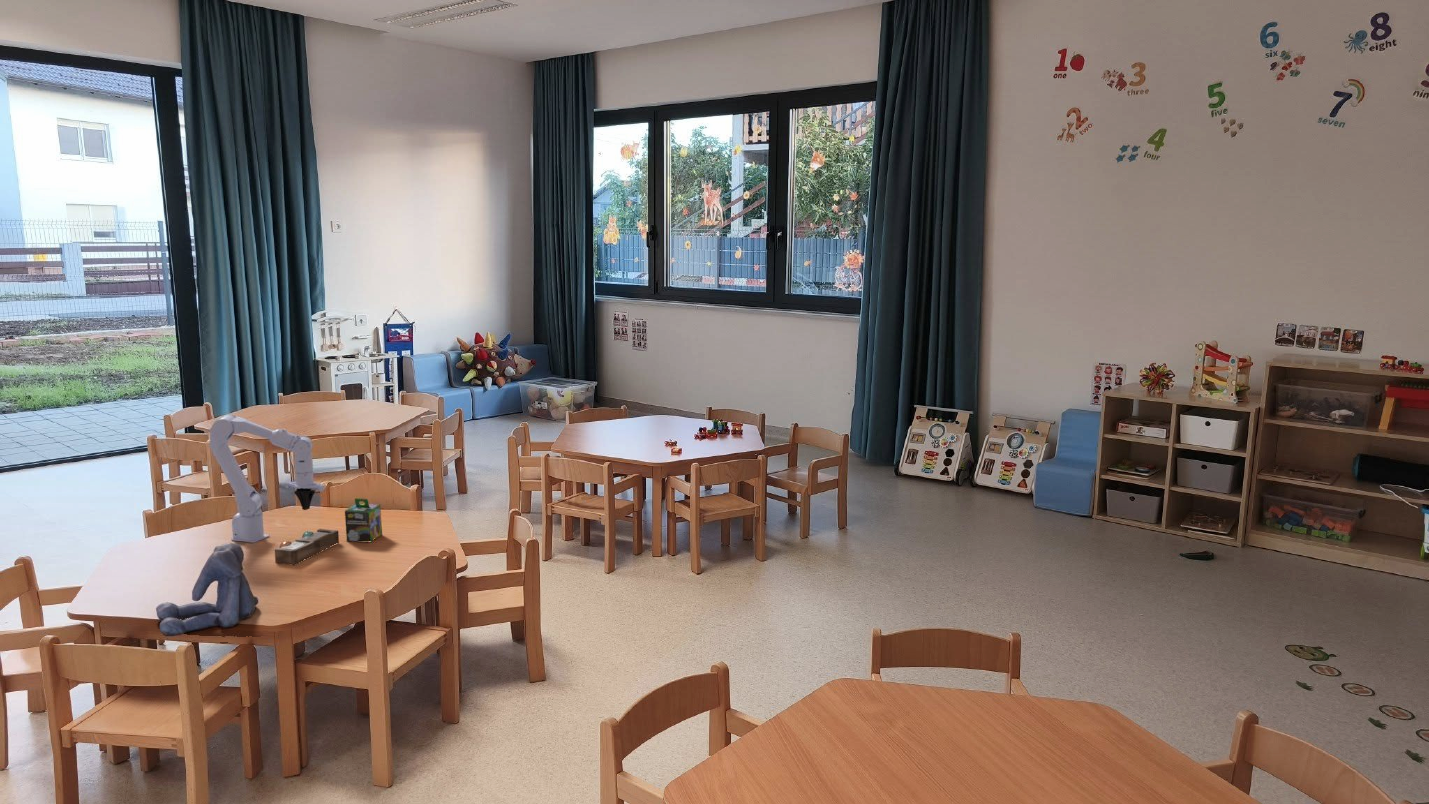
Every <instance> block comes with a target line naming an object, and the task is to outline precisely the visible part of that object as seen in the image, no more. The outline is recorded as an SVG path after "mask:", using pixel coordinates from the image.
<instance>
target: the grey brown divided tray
mask: <svg viewBox="0 0 1429 804" xmlns="http://www.w3.org/2000/svg"><path fill="white" fill-rule="evenodd" d="M316 532H324V533H329V534H326V535H324V536H322V537H320V538H318V539H311V538H302V536H301V537H299V538H296V539H295V541H294V542H303V543H307V544H305V545H303V546H300V547H298V548H296V549H285V548H279V547H277V548H275V549H274V560H275V563H276V564H281V565H283V564H284V565H290V564H292V566H296V565H298V564H300V563H301V561H302V562H304V561H305V560H304V559H306V560H308V559H310V558H312V557H314V556H316V555H318V554H320V553H322V552H321V551H322V550H325V549H326V548H329V547H330V546H332V545H334V544H336V543H340V540H339V539H340V538H339V535H340V534H339V530H335V529H326V528H319V529H317V530H316ZM329 549H330V548H329ZM325 551H326V550H325ZM319 552H320V553H319ZM317 553H318V554H317ZM313 555H314V556H313ZM311 556H312V557H311ZM309 557H310V558H309ZM307 558H308V559H307ZM303 560H304V561H303ZM299 562H300V563H299ZM295 564H296V565H295Z"/></svg>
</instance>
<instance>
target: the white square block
mask: <svg viewBox="0 0 1429 804" xmlns="http://www.w3.org/2000/svg"><path fill="white" fill-rule="evenodd" d="M305 544H307V543H303V542H295V541H294V542H291V541H286V540H285V541H284V540H283V541H282V542H281V543H280V545H279V546H278V548H285V549H296V548H298V547H300V546H303V545H305Z"/></svg>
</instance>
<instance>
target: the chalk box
mask: <svg viewBox="0 0 1429 804" xmlns="http://www.w3.org/2000/svg"><path fill="white" fill-rule="evenodd" d="M360 502H362V503H360ZM354 503H355V504H353V505H351V506H350V507H349V508H347V509H345V510H344V519H345V532H346V533H345V535H346V537H345V538H346V541H347V540H348V541H347V542H354V541H372V540H373V539H374V538H376V539H378V538H379V537H380V535H381V534H382V535H383V526H382V511H381V510H382V509H381V504H380V503H369V500H368V499H367V498H357V497H356V498H354ZM382 535H381V536H382ZM378 536H379V537H378ZM377 537H378V538H377ZM373 541H374V540H373ZM373 541H372V542H373Z"/></svg>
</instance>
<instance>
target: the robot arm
mask: <svg viewBox="0 0 1429 804" xmlns="http://www.w3.org/2000/svg"><path fill="white" fill-rule="evenodd" d="M243 433H247V434H250V435H252V436H253V435H254V436H255V437H256V436H257V437H260V438H263V439H267V440H269V442H270V444H272V445H273V446H276V447H278V448H281V449H284V450H288V451H290V452H292V453H293V454H294V474H295V477H294V478H295V481H286V482H285V483H284V485H285V487H284V488H285V489H296V490H294V494H295V495H296V497H297V499H298V500H299V503H300V506H301V509H302V510H303V511H307V510H309V509H310V508H311V503H312V500H313V497H314V495H315V493H316V491H318V492H323V491H326V490H325V489H326V487H325V486H326V485H325V484H321V483H317V482H314V464H313V461H314V460H313V452H312V449H313V447H314V442H313V440H312V439H311V438H310V437H308V436H307V435H302V436H301V434H294V433H292V432H289V431H287V429H286V428H281V429H280V428H278V429H274V430H273V429H270V428H267V427H265V426H263V425H260V424H257V423H255V422H254V421H252V420H251V421H250V420H248V419H245V418H244V417H242V416H236V415H234V414H225V415H223V416H222V417H220V418H219V419H216V420H215V421H214V422H213V424H212V426H211V427H210V428H209V434H210V435H209V443H208V445H209V448H210V451H211V452H212V455H214V458H215V459H216V462H217V463H218V465H219V467H220V469H221V470H222V472H223V474H224V476H225V477H226V479H227V481H228V484H229V485H230V486H231V489H232V491H233V492H234V499H235V502H236V508H237V513H236V514H234V516H232V520H231V528H232V538H231V541H234V542H235V541H237V542H244V543H257V542H260V541H261V540H264V539H266V538H268V537H271V535H270V534H267V533H264V518H263V517H264V516H263V510H262V508H261V507H262V506H263V504H264V498H263V496H262V495H261V494H260V493H259V492H258V491H256V489H255V487H254V486H252V485H250V483H249V481H248V479H247V478H246V476H245V473H244V472H243V470H242V469H241V467H240V465H239V463H238V461H237V459H236V458H235V456H234V453H233V452H232V450H231V448H230V447H229V442H230V440H231V438H232V436H233V435H238V434H243Z"/></svg>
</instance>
